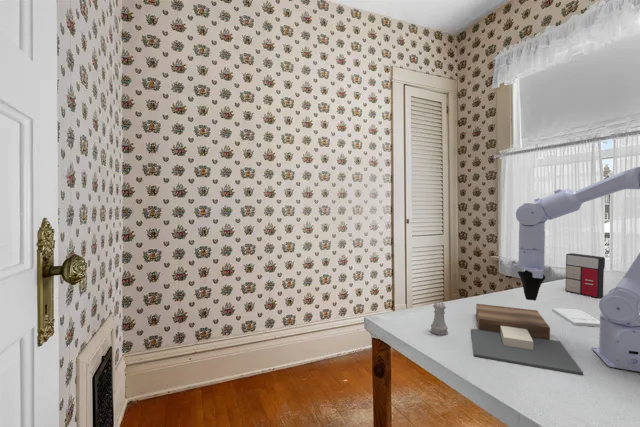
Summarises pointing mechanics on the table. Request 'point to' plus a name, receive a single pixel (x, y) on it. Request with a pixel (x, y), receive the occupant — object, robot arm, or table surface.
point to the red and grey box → (585, 274)
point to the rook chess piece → (439, 320)
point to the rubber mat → (524, 352)
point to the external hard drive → (577, 317)
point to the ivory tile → (516, 337)
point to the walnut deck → (511, 320)
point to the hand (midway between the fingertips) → (530, 299)
